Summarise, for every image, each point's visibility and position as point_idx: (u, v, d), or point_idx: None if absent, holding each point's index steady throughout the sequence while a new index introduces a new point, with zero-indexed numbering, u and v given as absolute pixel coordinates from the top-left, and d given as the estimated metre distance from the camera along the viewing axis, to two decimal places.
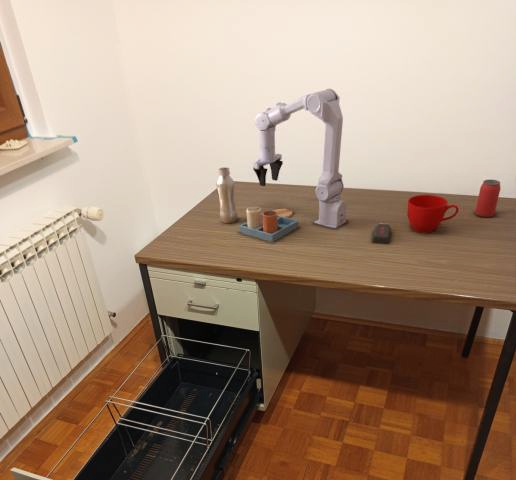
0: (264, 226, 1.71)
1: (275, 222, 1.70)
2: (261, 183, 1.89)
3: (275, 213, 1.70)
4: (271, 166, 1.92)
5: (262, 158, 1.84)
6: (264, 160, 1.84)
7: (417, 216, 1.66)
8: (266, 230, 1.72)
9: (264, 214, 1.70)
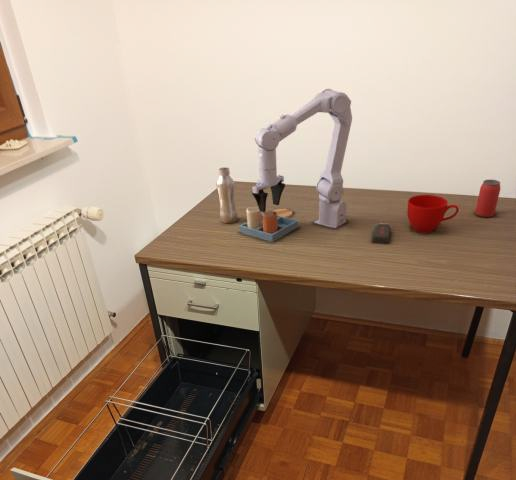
0: (264, 226, 1.71)
1: (275, 222, 1.70)
2: (261, 209, 1.67)
3: (275, 213, 1.70)
4: (272, 189, 1.70)
5: (262, 181, 1.63)
6: (264, 183, 1.63)
7: (417, 216, 1.66)
8: (266, 230, 1.72)
9: (264, 214, 1.70)
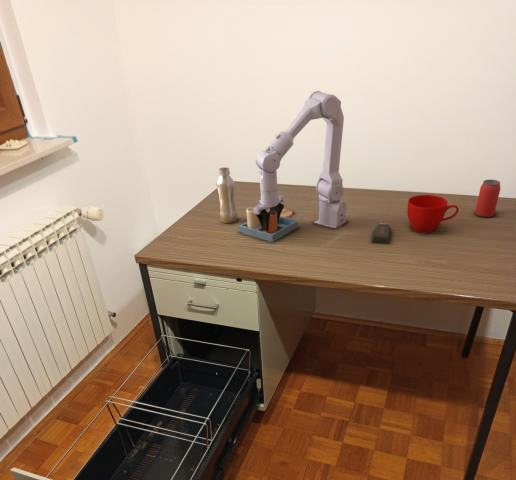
0: None
1: (275, 222, 1.70)
2: (263, 227, 1.71)
3: (275, 213, 1.70)
4: (271, 210, 1.72)
5: (263, 202, 1.66)
6: (265, 204, 1.66)
7: (417, 216, 1.66)
8: None
9: None
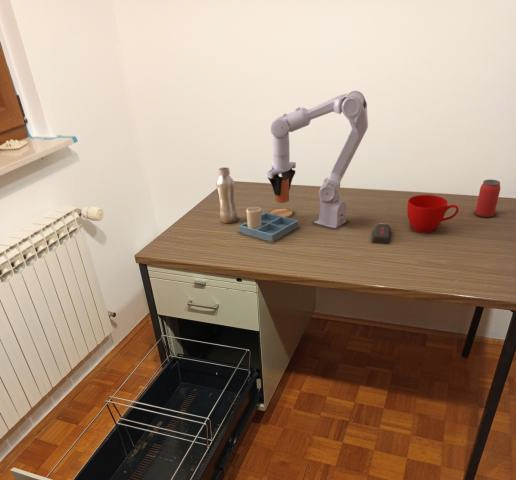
0: None
1: (287, 187, 1.78)
2: (276, 192, 1.78)
3: (287, 178, 1.77)
4: (283, 176, 1.80)
5: (276, 167, 1.73)
6: (278, 169, 1.73)
7: (417, 216, 1.66)
8: None
9: None
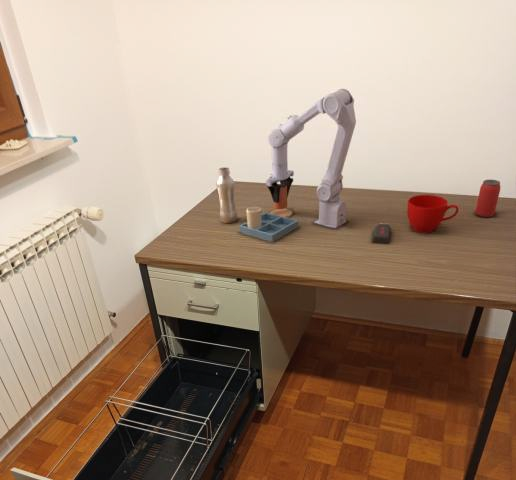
0: None
1: (285, 194, 1.85)
2: (274, 199, 1.86)
3: (285, 186, 1.85)
4: (281, 183, 1.87)
5: (274, 175, 1.81)
6: (276, 177, 1.81)
7: (417, 216, 1.66)
8: None
9: None
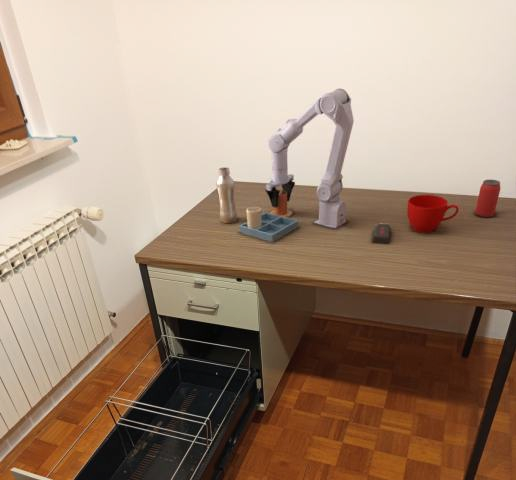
0: None
1: (285, 200, 1.87)
2: (273, 204, 1.86)
3: (285, 192, 1.86)
4: (283, 187, 1.89)
5: (274, 179, 1.82)
6: (276, 181, 1.82)
7: (417, 216, 1.66)
8: (276, 208, 1.88)
9: None
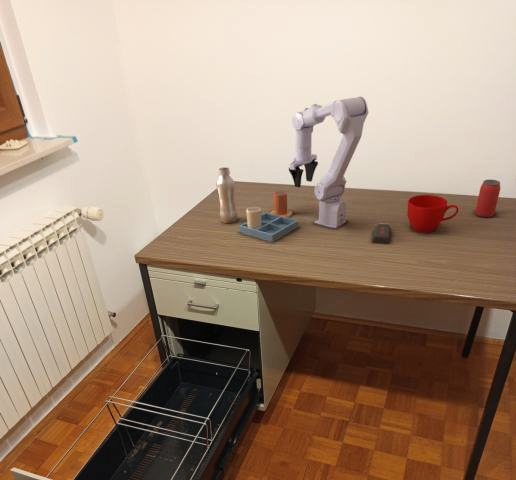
0: (275, 204, 1.88)
1: (285, 200, 1.87)
2: (296, 184, 1.84)
3: (285, 192, 1.86)
4: (306, 167, 1.87)
5: (298, 159, 1.80)
6: (300, 161, 1.80)
7: (417, 216, 1.66)
8: (276, 208, 1.88)
9: (275, 193, 1.86)
